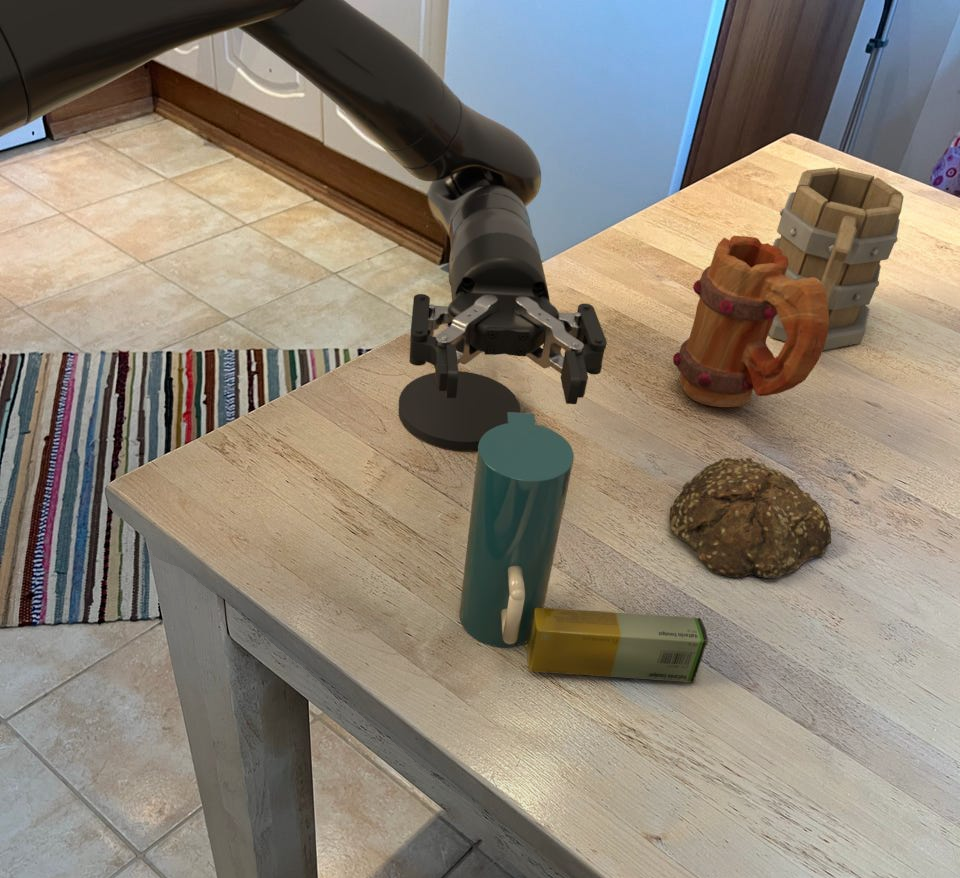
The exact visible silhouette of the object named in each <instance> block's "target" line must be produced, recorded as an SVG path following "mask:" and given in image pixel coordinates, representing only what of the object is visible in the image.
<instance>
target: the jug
mask: <svg viewBox="0 0 960 878" xmlns="http://www.w3.org/2000/svg"><path fill="white" fill-rule="evenodd" d="M535 417H536V416H535V413H533V412H532V413H531V412H521V413H516V412H508V413H507V418H506V424H502V425H499V426H496V427H494V428H492V429H490V430H489V431H487V432H486V433H485V434H484V435H483V436H482V437H481V439H480V441H479V445H478V450H477V453H476V463H475V470H474V472H475V473H474V479H473V480H474V481H473V490H472V498H471V507H470V516H469V517H470V518H469V525H468V534H467V542H466V543H467V544H466V552H465V560H464V569H463V578H462V586H461V597H460V605H459V621H460V624H461V625H462V627H463V629H464V630H465V631H466V633H467V634H468V635H469V636H470V637H472V638H473V639H475V640H476V641H478V642H480V643H483V644H485V645H487V646H492V647H496V648H497V647H498V648H510V647H515V646H520V645H522V644H525V643H527V642H529V637H530V631H531V625H532V621H533V616H534V609H535V608H536V607H539V608H545V603H546V597H547V594H548V588H549V582H550V579H551V574H552V568H553V564H554V559H555V554H556V548H557V543H558V538H559V534H560V529H561V525H562V518H563V514H564V509H565V505H566V500H567V495H568V490H569V484H570V479H571V474H572V470H573V465H574V459H575V455H574V450H573V448H572V446H571V445H570V443H569V442H568V440H567V439H566V438H564V436H562V435H561V434H559V433H558V432H556V431H554V430H553V429H551V428H548V427H546V426H543V425H540V424H536V418H535Z"/></svg>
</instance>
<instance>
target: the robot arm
mask: <svg viewBox="0 0 960 878" xmlns="http://www.w3.org/2000/svg"><path fill="white" fill-rule="evenodd" d="M235 29H239V30H240V31H242V32H243V33H245V34H247V35H248V36H249V37H251V38H252V39H253V40H255V41H256V42H258V43H259V44H261V45H262V46H263V47H265V48H266V49H267V50H269V51H270V52H271V53H273V54H274V55H276V56H277V57H278V58H279V59H281V60H282V61H284V63H286V64H287V65H288V66H290V67H292V69H294V70H295V71H296V72H298V73H299V74H300V75H301V76H302V77H303V78H305V79H306V80H307V81H308V82H310V83H311V84H312V85H313V86H315V88H317V89H318V90H319V91H320V92H321V93H323V94H324V95H325V96H326V97H328V98H329V99H330V100H331V101H332V102H333V103H334V104H336V105H337V107H339V108H340V109H341V110H342V111H343V112H345V113H346V115H348V116H349V117H350V118H351V119H352V120H353V121H354V122H355V123H357V125H358V126H360V127H361V128H362V129H363V130H364V131H365V132H366V133H367V134H368V135H369V136H370V137H371V138H372V139H373V140H374V141H376V143H377V144H378V145H379V146H380V147H381V148H383V150H385V151H386V153H388V154H389V155H390V157H392V158H393V159H394V160H395V161H396V162H397V163H399V165H401V166H402V167H403V168H404V169H405V170H406V171H407V172H408V173H410V174H411V175H412V176H413V177H415V178H417V179H418V180H420V181H424V182H430V184H429V187H428V189H427V193H426V194H427V195H426V200H427V204H428V209H429V212H430V213H431V215H432V217H433V219H434V220H435V222H436V223H437V225H438V226H439V227H440V228H441V230H442V231H443V232H444V233H445V235H447V237H449V243H450V252H449V260H448V261H449V262H448V263H449V264H448V265H449V267H448V268H449V270H448V271H449V272H448V281H449V286H450V292H451V293H450V294H451V302H450V303H449V304H448V306H446V305H445V306H444V305H435V304H433V303H431V297H430V296H429V295H427V294H424V293H418V294H415V295H414V296H413V302H412V312H411V324H410V340H409V358H408V359H409V363H410V364H411V365H413V366H417V367H418V366H419V367H421V366H424V365H425V364H426V363H428V364H431V365H432V366H433V368H434V373H435V377H436V387H437V389H438V390H439V391H446V398H455V399H456V395H457V384H458V371H459V366H458V365H459V364H461V365H466V364H468V363H470V362H471V361H472V360H473V359H474V358H476V357H478V356H479V355H481V354H482V353H484V355H487V356H498V355H509V356H514V357H526V358H528V359H529V360H531V361H532V362H533V363H536V364H537V365H538V366H540V367H541V368H542V369H548V368H550V367H551V369H553V370H554V371H556V372H557V373H559V374H560V381H561V386H562V392H563V395H564V402H565V404H566V405H577V404H578V400H579V399H580V398H582V399H583V398H584V397H585V394H586V390H587V385H588V381H589V380H588V379H589V375H599V374H600V373H601V372H602V367H603V361H604V355H605V350H606V349H607V344H608V341H607V338H606V336H605V333H604V330H603V328H602V326H601V322H600V320H599V318H598V314H597V313H596V310H595V308H594V306H593V305H592V304H590V303H579V304H578V305H577V310H576V312H559V310H558V308H557V307H556V306H555V305H553V304H552V303H551V299H550V294H549V289H548V284H547V279H546V274H545V270H544V265H543V261H542V257H541V253H540V248H539V245H538V243H537V240H536V238H535V236H534V233H533V229H532V224H531V219H530V215H529V212H528V210H527V206H529V205H530V204H531V203H532V202H533V201H534V200H535V198H536V197H537V196H538V194H539V193H540V189H541V184H542V169H541V165H540V162H539V160H538V157H537V156H536V154H535V152H534V151H533V148H531V147H530V145H529V143H527V142H526V141H525V140H524V139H523V138H522V137H521V136H520V135H518V134H517V133H515V132H514V131H513V130H511V129H510V128H508V127H506V126H505V125H503V124H501V123H499V122H497V121H495V120H493V119H491V118H489V117H487V116H485V115H483V114H481V113H480V112H478V111H476V110H475V109H473V108H471V107H469V106H468V105H467V104H465V103H464V102H463V101H461V99H460V98H459V97H458V95H456V94H455V93H454V92H453V90H452V89H451V88H450V87H449V86H448V85H447V83H445V81H444V80H443V79H442V78H441V77H440V76H439V75H438V73H437V72H436V70H434V68H432V67H431V65H429V63H428V62H426V60H425V59H424V58H423V57H421V56H420V55H419V54H418V53H417V52H416V51H414V50H413V49H412V48H411V47H409V46H408V45H407V43H404V42H403V41H402V40H401V39H400V38H398V37H397V36H396V35H394V34H393V33H392V32H390V31H389V30H388V29H386V28H384V27H383V26H382V25H380V24H379V23H377V22H376V21H374V20H373V19H371V18H370V17H368V16H367V15H366V14H364V13H363V12H362V11H360V10H358V9H356V7H354V6H353V5H352V4H350V3H349V2H348V1H346V0H0V138H1V137H4V136H5V135H8V134H9V133H12V132H15V131H16V130H19V129H21V128H23V127H25V126H27V125H29V124H31V123H32V122H35V121H37V120H38V119H40V118H42V117H43V116H45V115H48V114H49V113H51V112H52V111H55V110H56V109H59V108H61V107H62V106H64V105H67V104H69V103H70V102H73V101H75V100H77V99H79V98H81V97H84V96H86V95H88V94H89V93H92V92H94V91H95V90H97V89H100V88H102V87H104V86H106V85H108V84H109V83H111V82H113V81H115V80H117V79H119V78H121V77H123V76H124V75H126V74H129V73H130V72H132V71H134V70H136V69H138V68H140V67H141V66H143V65H145V64H146V63H148V62H150V61H152V60H154V59H156V58H158V57H161V55H164V54H166V53H168V52H170V51H172V50H175V49H177V48H180V47H182V46H185V45H188V44H190V43H194V42H196V41H199V40H202V39H205V38H209V37H212V36H215V35H219V34H221V33H224V32H227V31H231V30H235ZM430 303H431V304H430ZM441 325H447V328H445V329H444V330H442V331H441V332H439V333H438V334H436V336H434V335H435V331H436V330H438V329H439V328H440V326H441ZM542 346H543V347H542ZM562 349H563V350H564V356H563V355H562ZM588 374H589V375H588Z"/></svg>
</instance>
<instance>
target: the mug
mask: <svg viewBox="0 0 960 878" xmlns="http://www.w3.org/2000/svg"><path fill="white" fill-rule="evenodd" d="M787 267H788V258H787V257H786V256H785V255H782V251H781V250H780V249H779V248H778V247H776V246H773V244H770V243H768V242H767V243H762V242H761V241H760V239H759V238H757V237H753V236H747V235H746V236H744V235H733V236H731V237H730V239H728V238H726V237H723V238H722V239H721V240H720V241H719V242H718V243H717V245H716V247H715V251H714V253H713V256H712V260H711V263H710V265H709V266H707V267H706V268H705V269H704V270H703V272H702V273H701V276H700V279H697V280H696V281H694V283H693V285H692V289H693V292H694V293H695V294H696V295H698V297H699V299H698V302H697V305H696V310H695V315H694V319H693V324H692V327H691V331H690V334H689V337H688V338H687V339H686V340H684V341H683V342H682V344H681V345H680V348H679V351H678V352H676V353H674V354H673V356H672V362H673V365H674V366H676V368H677V370H678V372H679V376H678V377H679V380H678V381H679V384H680V385H681V388H682V390H683V391H684V393H685V394H686V396H687V397H689V398H691V399H692V400H693V401H694V402H697V403H700V404H701V405H705V406H709V407H716V408H722V407H723V408H733V407H740V406H743V405H745V404H747V403H748V402H749V401H750V400H751V398H752V396H753V392H754V393H755V394H756V396H758V397H760V398H761V397H767V396H773V395H777V394H781V393H784V392H786V391H789V390H792V389H794V388H795V387H796V386H798V385H799V384H801V383H803V382H804V381H806V380H807V378H808V377H809V375H810V374H811V372H812V371H813V369H814V368H815V367H816V366H817V364H818V361H819V359H820V357H821V355H822V353H823V351H824V350H823V349H824V346H825V341H826V337H827V334H828V324H829V313H828V303H827V296H826V290H825V288H824V286H823V284H822V283H821V282H820V281H819V280H818V279H817V278H815V277H811V278H803V279H800V280H795V281H794V280H792V279H790V278H788V277H786V276H785V274H786V270H787ZM777 314H778V315H779V318H780V320H781V323H782V325H783V327H784V329H785V331H786V334H787V340H786V342H785V341H784V344H783V346H782V347H781V350H780V352H779V353H778V355H777V356H776V357H775V356H774V354H773V353H772V351H771V350H770V348H769V346H768V345H767V344H766V343H767V338H768V336H769V334H768V333H769V331H770V328H771V326H772V323H773V320H774V317H775V316H776V315H777Z"/></svg>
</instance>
